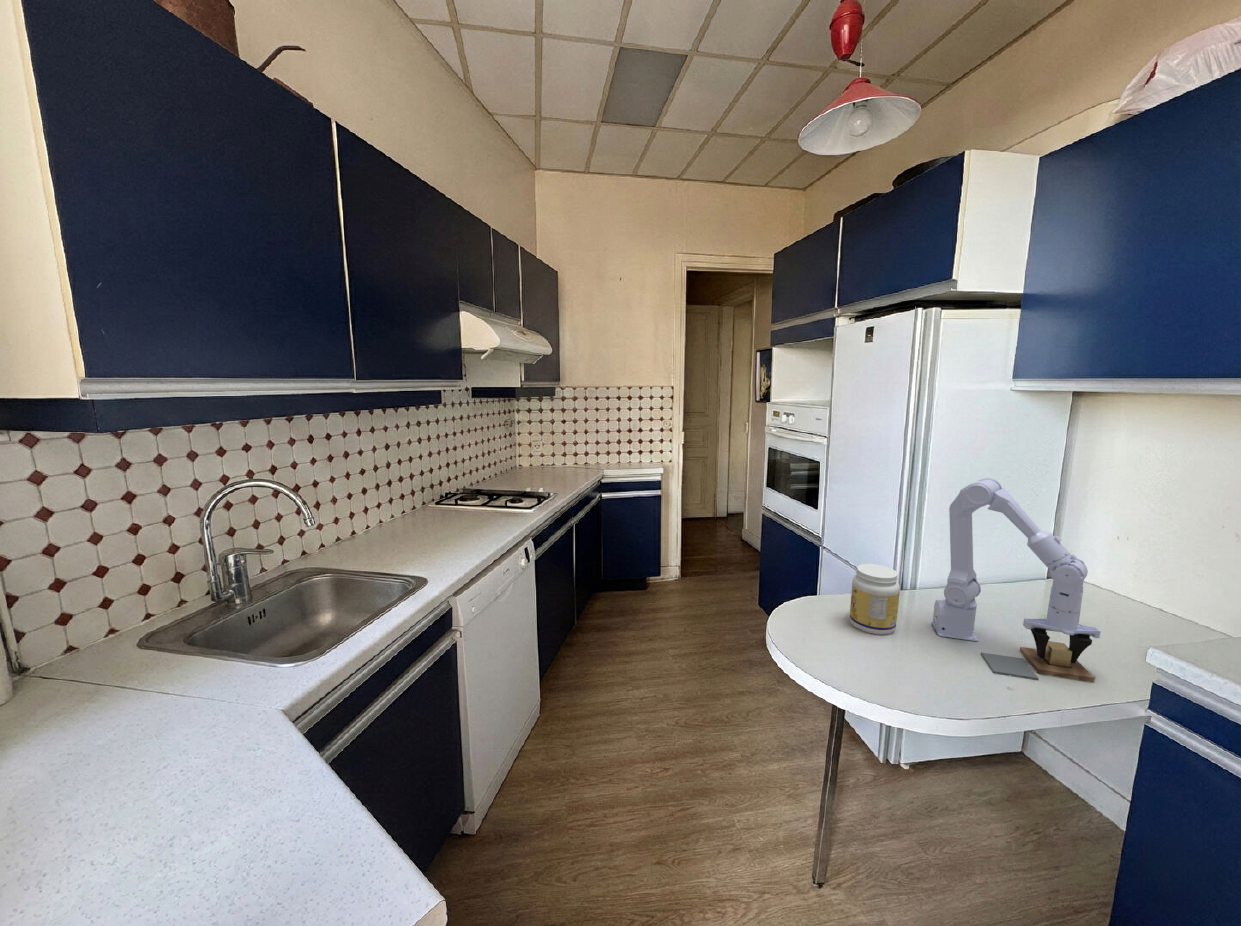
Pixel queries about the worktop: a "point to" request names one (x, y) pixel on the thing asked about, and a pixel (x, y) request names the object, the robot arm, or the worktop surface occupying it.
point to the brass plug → (1057, 654)
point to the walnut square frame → (1056, 667)
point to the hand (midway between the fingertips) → (1055, 658)
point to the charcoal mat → (1009, 666)
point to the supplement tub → (875, 599)
